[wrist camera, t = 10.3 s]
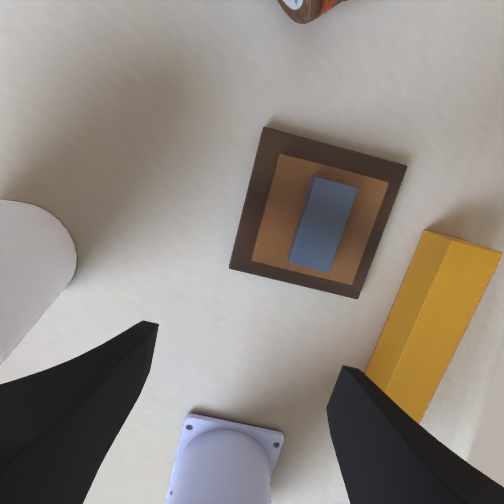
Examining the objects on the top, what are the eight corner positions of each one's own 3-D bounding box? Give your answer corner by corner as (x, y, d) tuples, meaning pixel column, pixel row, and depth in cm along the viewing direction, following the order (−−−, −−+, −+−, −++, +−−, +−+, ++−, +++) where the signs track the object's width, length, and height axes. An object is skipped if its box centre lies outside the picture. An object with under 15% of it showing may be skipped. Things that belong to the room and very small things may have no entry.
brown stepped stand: (354, 295, 21) (371, 316, 18) (229, 265, 21) (225, 282, 18) (401, 165, 19) (430, 165, 16) (262, 128, 19) (264, 120, 15)
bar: (391, 408, 24) (410, 442, 21) (353, 400, 24) (367, 432, 21) (468, 241, 20) (504, 253, 17) (423, 229, 20) (452, 239, 17)
